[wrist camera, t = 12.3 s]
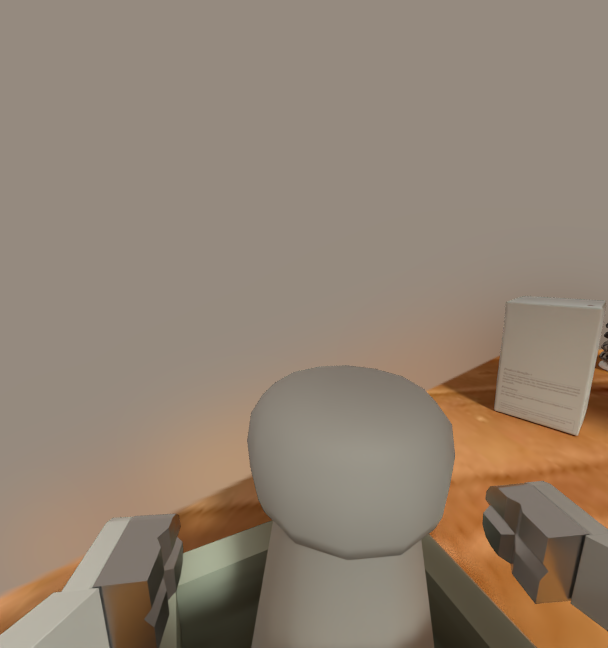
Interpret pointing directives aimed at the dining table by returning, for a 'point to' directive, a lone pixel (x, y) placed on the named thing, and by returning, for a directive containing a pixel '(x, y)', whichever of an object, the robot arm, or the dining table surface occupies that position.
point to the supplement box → (549, 360)
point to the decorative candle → (604, 353)
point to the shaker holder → (246, 582)
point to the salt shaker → (348, 507)
